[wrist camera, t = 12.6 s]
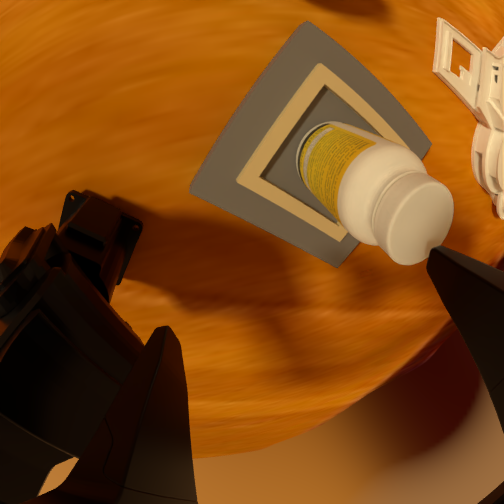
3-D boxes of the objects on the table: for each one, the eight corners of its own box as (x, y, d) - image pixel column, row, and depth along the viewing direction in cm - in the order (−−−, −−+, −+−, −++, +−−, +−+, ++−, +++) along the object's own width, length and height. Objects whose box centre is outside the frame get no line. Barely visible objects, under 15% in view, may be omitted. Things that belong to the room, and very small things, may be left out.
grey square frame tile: (331, 258, 24) (340, 272, 23) (190, 185, 19) (188, 196, 17) (421, 139, 19) (436, 146, 17) (300, 24, 13) (311, 18, 11)
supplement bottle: (295, 198, 19) (362, 290, 11) (291, 121, 16) (381, 164, 8) (361, 190, 19) (447, 265, 11) (364, 120, 16) (473, 164, 8)
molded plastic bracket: (529, 65, 13) (551, 72, 10) (499, 213, 27) (519, 228, 23) (432, -32, 9) (462, -38, 5) (402, 184, 22) (432, 205, 18)
